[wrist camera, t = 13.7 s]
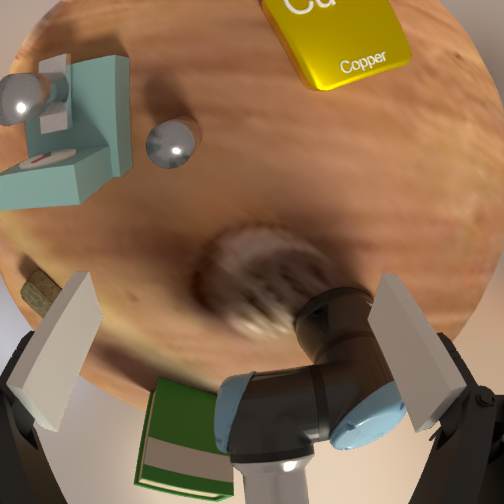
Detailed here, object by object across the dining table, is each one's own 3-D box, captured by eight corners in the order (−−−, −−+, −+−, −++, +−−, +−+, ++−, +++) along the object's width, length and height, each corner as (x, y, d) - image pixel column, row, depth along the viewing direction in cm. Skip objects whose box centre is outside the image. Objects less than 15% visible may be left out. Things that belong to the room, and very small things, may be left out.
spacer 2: (202, 153, 37) (193, 168, 31) (164, 154, 37) (147, 169, 30) (201, 115, 35) (192, 120, 28) (163, 117, 35) (145, 123, 28)
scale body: (132, 166, 38) (88, 204, 26) (50, 174, 37) (-7, 211, 25) (129, 58, 30) (78, 46, 18) (43, 77, 30) (-22, 84, 17)
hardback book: (150, 391, 62) (133, 484, 41) (159, 376, 59) (141, 477, 38) (218, 413, 67) (217, 501, 46) (232, 400, 64) (233, 495, 43)
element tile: (307, 96, 35) (316, 96, 30) (254, -1, 28) (256, -13, 24) (401, 63, 32) (419, 62, 28) (355, -29, 25) (368, -40, 21)
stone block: (38, 264, 45) (25, 280, 40) (83, 306, 49) (73, 324, 45) (28, 280, 46) (15, 295, 42) (69, 319, 51) (60, 336, 47)
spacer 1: (69, 110, 26) (28, 120, 19) (36, 117, 26) (-7, 130, 19) (69, 68, 24) (26, 67, 17) (35, 77, 23) (-9, 82, 16)
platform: (79, 125, 30) (67, 129, 27) (54, 129, 29) (41, 134, 27) (78, 54, 25) (65, 53, 23) (52, 62, 25) (38, 61, 22)
